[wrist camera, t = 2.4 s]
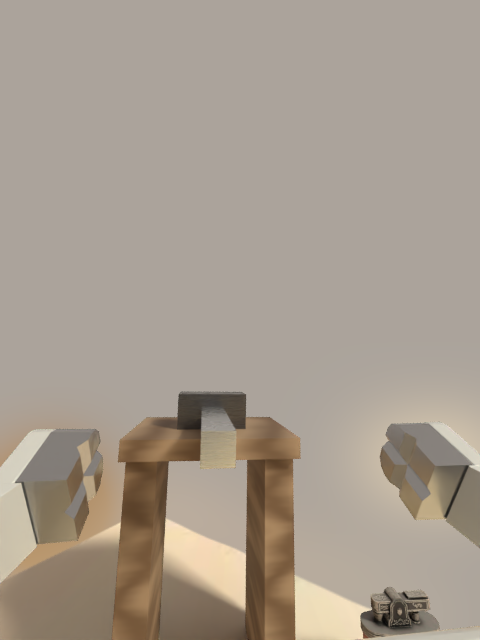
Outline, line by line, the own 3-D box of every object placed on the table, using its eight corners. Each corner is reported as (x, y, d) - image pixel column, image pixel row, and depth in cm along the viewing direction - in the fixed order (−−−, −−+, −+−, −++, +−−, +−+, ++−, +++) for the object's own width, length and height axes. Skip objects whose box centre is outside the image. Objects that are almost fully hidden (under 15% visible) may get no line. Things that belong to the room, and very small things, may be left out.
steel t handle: (159, 469, 20) (163, 409, 21) (179, 423, 38) (181, 391, 38) (273, 467, 21) (273, 409, 22) (241, 423, 39) (241, 392, 39)
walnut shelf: (91, 779, 24) (119, 440, 28) (132, 629, 37) (146, 417, 42) (305, 748, 26) (300, 438, 30) (269, 617, 39) (269, 417, 44)
